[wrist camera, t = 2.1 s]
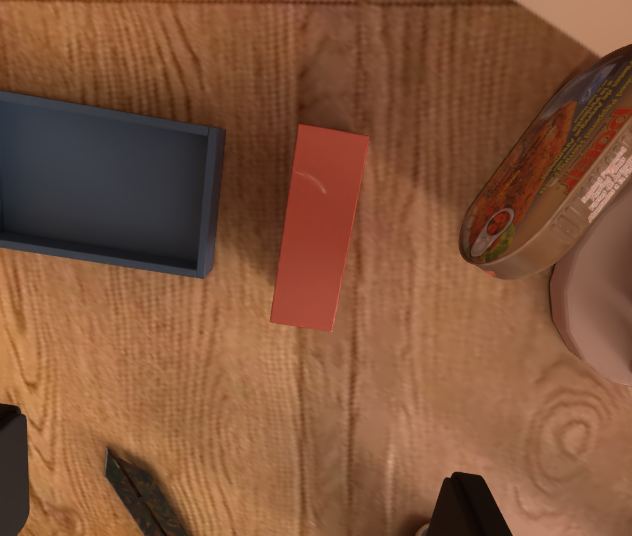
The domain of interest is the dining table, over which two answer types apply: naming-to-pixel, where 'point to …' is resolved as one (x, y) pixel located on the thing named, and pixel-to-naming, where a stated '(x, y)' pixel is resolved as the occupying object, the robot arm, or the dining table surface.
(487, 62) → the dining table surface
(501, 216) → the tin
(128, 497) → the knife
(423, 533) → the ceramic mug
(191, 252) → the tray
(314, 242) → the bar
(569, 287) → the hourglass
